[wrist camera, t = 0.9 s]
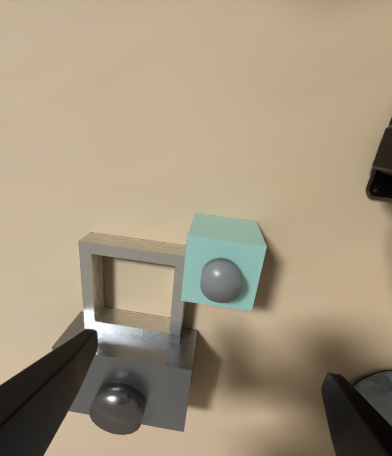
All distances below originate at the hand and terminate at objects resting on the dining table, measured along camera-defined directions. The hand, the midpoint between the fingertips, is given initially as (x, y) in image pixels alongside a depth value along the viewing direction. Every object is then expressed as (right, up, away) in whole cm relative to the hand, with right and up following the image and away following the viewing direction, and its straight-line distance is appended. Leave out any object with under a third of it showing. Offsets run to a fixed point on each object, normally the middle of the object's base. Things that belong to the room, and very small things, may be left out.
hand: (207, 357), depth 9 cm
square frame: (-6, -4, +15) cm, 17 cm away
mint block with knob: (+2, +4, +11) cm, 12 cm away
